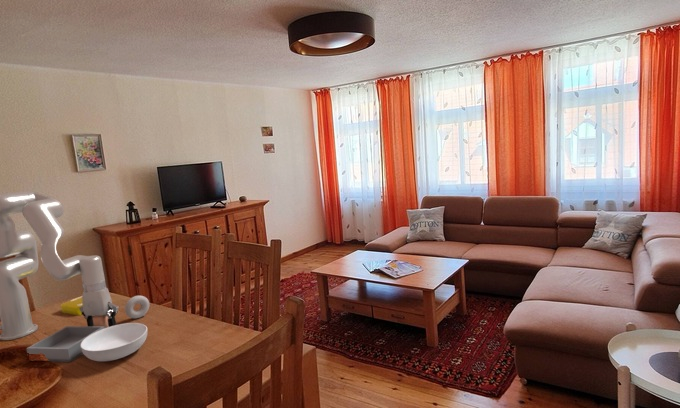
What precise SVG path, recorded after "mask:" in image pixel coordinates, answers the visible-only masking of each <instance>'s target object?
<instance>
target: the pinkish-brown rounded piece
mask: <svg viewBox="0 0 680 408" xmlns="http://www.w3.org/2000/svg"><path fill="white" fill-rule="evenodd" d="M92 318H93V324H94V326H105V328H108V327H109V325H108V319H109V318H108V317H107V316H106V315H101V316H93V317H92Z"/></svg>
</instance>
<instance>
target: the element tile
mask: <svg viewBox="0 0 680 408" xmlns="http://www.w3.org/2000/svg"><path fill="white" fill-rule="evenodd" d="M82 306H83V302H82V295H81V296H78V297H76V298H72V299H70V300H68V301H65V302H63V303H61V304H60V308H61V313H63V314H66V315H67V314H69V315H73V316H81V315H82V312H81V311H80V310H79V308H80V307H82ZM82 316H83V315H82Z"/></svg>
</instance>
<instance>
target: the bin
mask: <svg viewBox="0 0 680 408" xmlns="http://www.w3.org/2000/svg"><path fill="white" fill-rule="evenodd" d="M102 329H105V326H88V325H86V326H83V325H79V326H78V325H76V326H73V325H71V326H70V325H68V326H67V325H66V326H65V327H62V328H61V329H59V330H58V331H55V332H54V333H52V334H50V335H49V336H46V337H45V338H42V339H41V340H39V341H37V342H35V343H33V344H32V345H30V346H28V347H26V353H29V354H40V353H42V354H44V355H45V357H46V358H47V359H48V360H49V361H51V362H50V363H72V362H73V361H75V360H76V359H78V358H79V357H80V356H83V355H84V354H83V352H82V350H81V347H80V344H81V342H82V341H83V340H84V339H85V338H86V337H88V336H89V335H91V334H93V333H95V332H97V331H99V330H102Z"/></svg>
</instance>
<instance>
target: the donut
mask: <svg viewBox="0 0 680 408" xmlns="http://www.w3.org/2000/svg"><path fill="white" fill-rule="evenodd" d="M136 304H140V308H139V309H137V310H135V309H134V307H135V306H136ZM149 308H150V300H149V299H148V298H147V297H146V296H143V295H134V296H132V297H131V298H129V299H128V300H127V302H125V305H124V313H125V315H126V316H127V317H128V318H131V319H140V318H142V317H144V316H145V315H146V314H147V312H149Z"/></svg>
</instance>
